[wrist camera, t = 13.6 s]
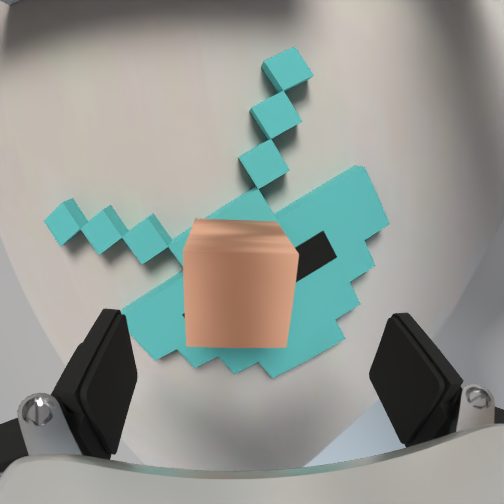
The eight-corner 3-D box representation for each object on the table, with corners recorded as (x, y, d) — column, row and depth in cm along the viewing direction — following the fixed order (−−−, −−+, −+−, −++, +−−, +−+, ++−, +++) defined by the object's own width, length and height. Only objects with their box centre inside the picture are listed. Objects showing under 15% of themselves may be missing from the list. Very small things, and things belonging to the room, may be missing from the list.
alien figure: (58, 213, 20) (206, 391, 26) (43, 220, 17) (205, 408, 24) (287, 56, 17) (401, 282, 24) (294, 46, 15) (414, 293, 22)
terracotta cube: (276, 221, 19) (299, 254, 13) (270, 294, 21) (286, 347, 15) (195, 218, 18) (182, 250, 13) (195, 292, 20) (186, 346, 14)
